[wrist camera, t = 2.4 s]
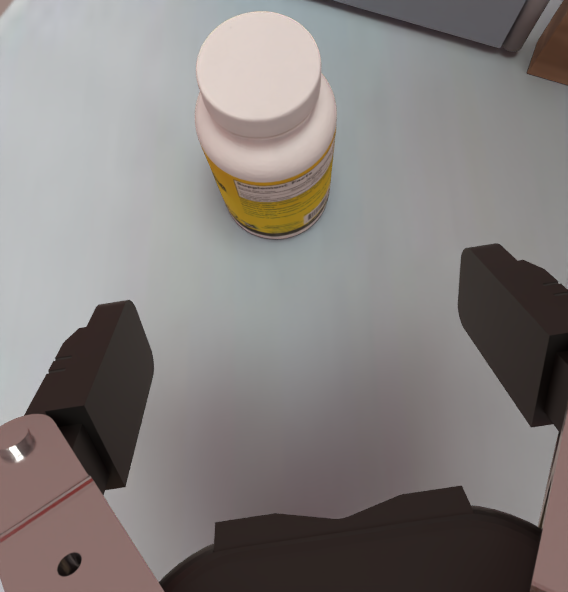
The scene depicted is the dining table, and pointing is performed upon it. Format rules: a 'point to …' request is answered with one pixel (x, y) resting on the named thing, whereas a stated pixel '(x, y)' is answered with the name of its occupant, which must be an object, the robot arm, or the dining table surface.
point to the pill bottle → (266, 122)
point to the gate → (466, 17)
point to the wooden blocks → (553, 49)
